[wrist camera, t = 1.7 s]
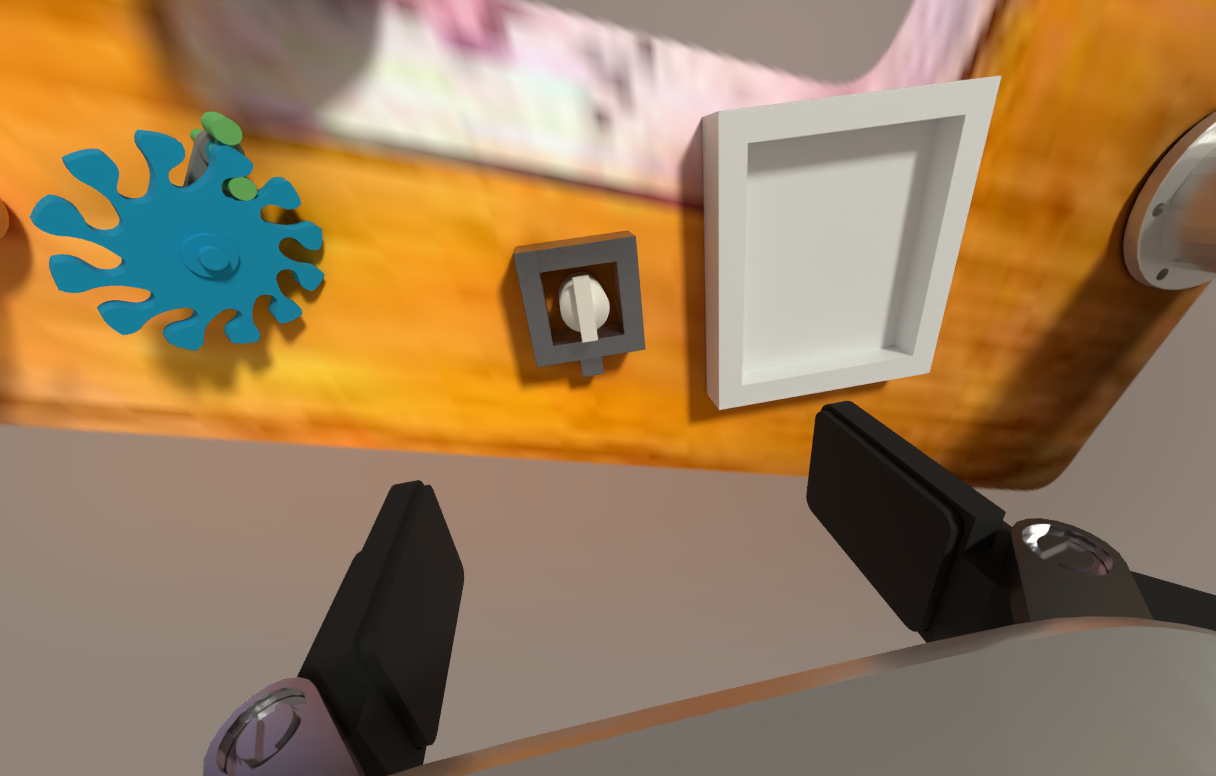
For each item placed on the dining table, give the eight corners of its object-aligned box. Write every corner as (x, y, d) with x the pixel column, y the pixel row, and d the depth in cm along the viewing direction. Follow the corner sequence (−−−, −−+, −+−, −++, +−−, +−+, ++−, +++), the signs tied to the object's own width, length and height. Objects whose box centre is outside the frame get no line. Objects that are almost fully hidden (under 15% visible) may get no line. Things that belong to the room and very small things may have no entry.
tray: (960, 84, 25) (1001, 75, 23) (903, 359, 33) (929, 372, 31) (702, 117, 24) (718, 111, 22) (706, 393, 32) (719, 409, 30)
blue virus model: (300, 364, 26) (16, 342, 17) (259, 321, 28) (-7, 282, 19) (362, 182, 23) (71, 45, 14) (311, 153, 26) (37, 23, 17)
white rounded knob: (598, 262, 27) (606, 275, 23) (605, 317, 29) (614, 337, 25) (553, 269, 27) (555, 282, 23) (563, 324, 28) (566, 345, 25)
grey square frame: (627, 230, 26) (635, 236, 24) (639, 357, 30) (647, 372, 28) (515, 246, 26) (513, 253, 24) (541, 373, 30) (542, 390, 27)
